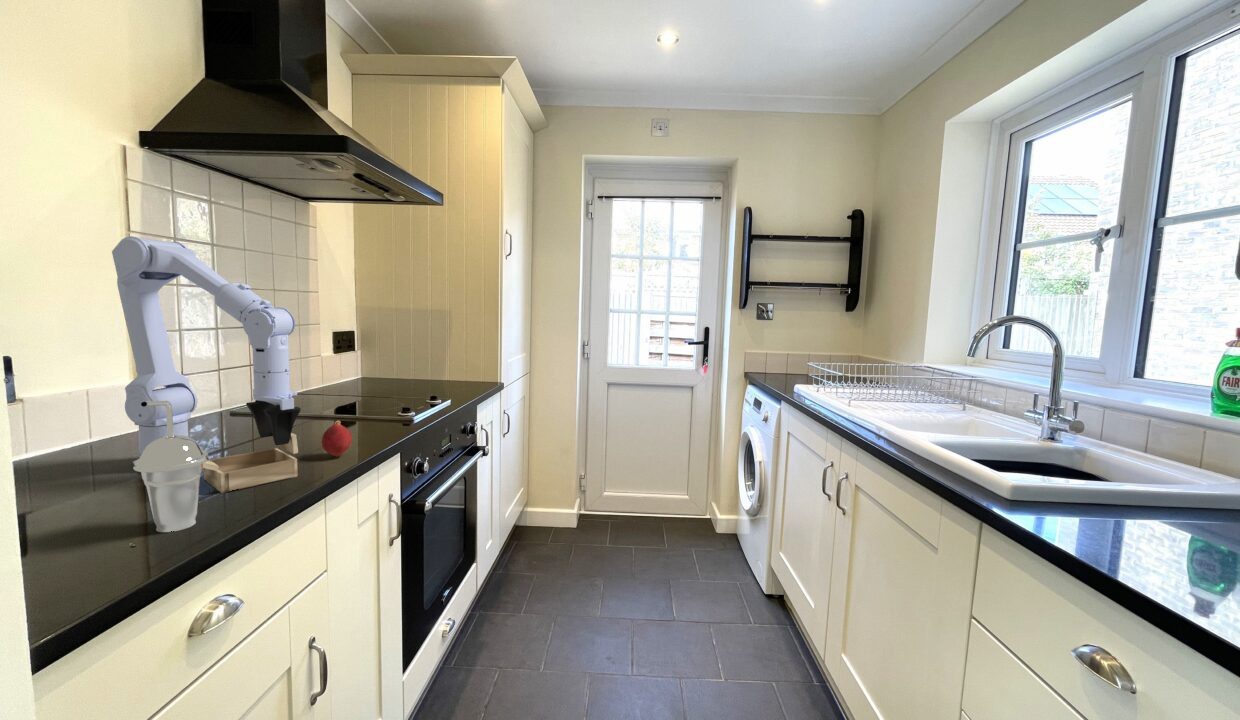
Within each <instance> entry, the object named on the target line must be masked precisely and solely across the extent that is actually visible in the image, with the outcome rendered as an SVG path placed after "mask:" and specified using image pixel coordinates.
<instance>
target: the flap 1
mask: <svg viewBox="0 0 1240 720" xmlns="http://www.w3.org/2000/svg"><path fill="white" fill-rule="evenodd" d="M203 468H206V469H211V470H215V471H217V470H218V468H219V466H218V465H216V464H215V463H214V462H212V461H211V460H210V459H209V460H208V461H207V462H205V463H203Z"/></svg>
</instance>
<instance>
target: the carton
mask: <svg viewBox="0 0 1240 720" xmlns="http://www.w3.org/2000/svg"><path fill="white" fill-rule="evenodd" d="M209 460H211V461H212V462H214V463H215V464H216V465H218V466H219V468H218V470H217V471H215V470H211V469H206V468H203V470H202V472H203V480H204V481H205V480H206V481H207V482H206V481H205V482H206V483H208V484H209V483H210V484H211V485H210V484H209V485H210V486H211V487H213V488H214V487H215V488H216V489H215V490H216V491H218V492H219V493H220V494H225V492H226V493H229V492H228V491H230V492H233V491H232V490H235V491H237V490H236V489H239V490H243V489H247V488H252V487H257V486H261V485H265V484H270V483H274V482H280V481H283V480H288V479H293V478H298V472H299V471H298V458H296V457H294V456H293V455H291V454H289V453H286V452H285V451H283V450H281V449H279V448H277V447H275V448H267V449H261V450H256V451H250V452H245V453H239V454H232V455H228V456H221V457H218V458H212V459H211V458H209Z"/></svg>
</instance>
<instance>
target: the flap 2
mask: <svg viewBox="0 0 1240 720" xmlns="http://www.w3.org/2000/svg"><path fill="white" fill-rule="evenodd" d="M297 437H298V436H297V434H295V433H292V432H291V437H290V440H289V443H288V444H283V445H276V446H278V447H280V448H281V449H284V450H286V451H287V452H290V453H291V454H298V453H299V448H298V439H297Z"/></svg>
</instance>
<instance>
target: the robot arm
mask: <svg viewBox="0 0 1240 720" xmlns="http://www.w3.org/2000/svg"><path fill="white" fill-rule="evenodd" d="M111 254H112V260H113V264H114V266H115V272H116V276H117V279H116V284H117V285H116V286H117V289H118V294H119V298H120V303H121V307H122V310H123V316H124V319H125V324H126V329H127V333H128V337H129V342H130V347H131V351H132V355H133V359H134V363H135V368H136V372H137V376H136V377H135V378H133V380H132V381H131V382H129V383H128V384H127V385H126V386H125V388H124V390H125V394H126V398H125V403H124V411H125V413H126V414H125V415H126V416H127V417H128V418H129V420H130V421H131V422H133V423H134V426H138V431H137V440H138V441H137V443H138V453H139V454H138V455H139V458H138V459H140V457H141V455H142V453H143V451H144V449H145V448H146V447H147V446H148V445H149V444H150V443H151V442H153V441H154V440H156V439H158V438H161V437H164V436H167V419H166V407H165V405H163V406H147V407H143V406H141V403H142V402H146V401H169V402H170V403H171V405H172V414H173V431H174V435H182V436H187V437H189V422H188V419H190V418H191V415H192V414H191V413H193V412H194V411H195V410H196V408H197V407H198V406H197V405H198V396H197V393H196V392H195V390H193V388H192V386H191V384H190V380H189V378H188V377H187V376H185V375H184V374H182V373H180V372H179V371H177V370H176V368H175V364H174V359H173V354H172V349H171V346H170V341H169V337H168V332H167V328H166V323H165V318H164V314H163V310H162V306H161V301H160V296H159V291H160V290H161V289H163V287H164V286H165V285H167V284H169V283H170V282H172V281H174V280H175V279H178V278H179V277H183V278H184V279H186V280H188V281H190V282H191V283H193V284H195V285H196V286H198V287H199V288H201V289H202V290H204V291H205V292H208V293H209V294H211V295H212V296H214V303H215V305H216V306H217V307H218V308H220V309H221V310H222V311H224V312H225V313H226V314H228V315H229V316H231V317H233V319H235V320H236V321H238V322H239V323H241V324H242V328H243V331H244V332H245V334H246V335H247V336H248V338H249V346H250V347H251V348H252V365H253V366H252V367H253V368H252V369H253V371H252V372H253V389H252V398H253V400H254V401H249V402H246V403H245V405H246V407H247V408H248V409H249V411H250V413H251V415H252V416H253V419H254V422H255V424H256V428H257V431H258V435H259V437H260V438H269V437H272V438H273V442H274V444H275V446H277V445H283V444H288V443H289V440H290V437H291V433H292V432H293V428H294V424H295V422H296V420H297V418H298V416H299V415H300V413H301V407H299V406H295V399H294V396H298V392H297V391H295V390H291V380H290V379H291V378H290V374H291V373H290V349H289V348H290V347H289V345H290V344H289V342H290V341H289V336H290V335H292V333H293V332H294V330H295V327H296V320H295V317H294V315H293V314H292V313H291V312H290V311H289V310H288V308H285V307H282V306H277V307H275V306H273V305H271V304H272V302H271V301H269V300H268V299H263V297H261V296H259V295H257V294H256V293H255V292H254V291H252V290H251V289H252V287H251V286H250V285H248V284H247V283H239V282H229V281H227V280H226V279H225V278H224V277H222V275H220V274H219V273H217V272H216V271H215V270H214V269H213V268H211V267H210V266H209V265H208V264H206V263H205V262H203V260H202V259H200V258H199V257H197V255H196V251H195V250H193V249H191V248H188V247H187V246H186V245H185V244H184V243H182V242H179V241H166V240H165V241H164V240H157V239H149V238H141V237H139V236H138V237H137V236H130V235H129V236H127V237H124V238H122V239H120V241H119V242H118V243H117V245H115V247H114V248H113V249H112V250H111ZM158 387H159V388H158ZM160 387H161V388H160ZM162 387H163V388H162ZM189 438H190V437H189ZM135 461H136V460H133V461H132V464H133V465H134V462H135Z"/></svg>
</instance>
